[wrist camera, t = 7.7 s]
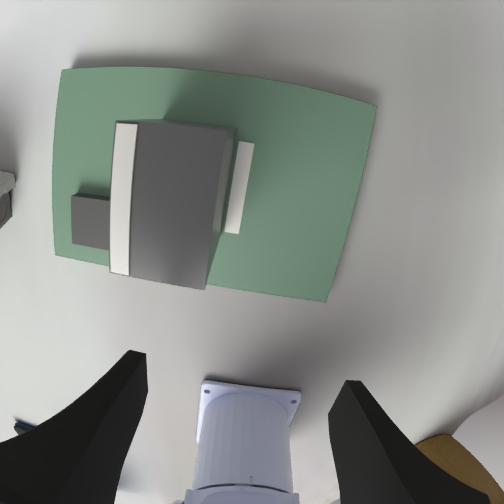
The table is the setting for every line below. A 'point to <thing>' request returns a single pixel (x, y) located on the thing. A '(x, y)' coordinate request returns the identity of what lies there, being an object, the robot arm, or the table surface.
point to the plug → (168, 199)
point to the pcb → (241, 173)
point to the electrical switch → (5, 196)
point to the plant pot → (461, 465)
